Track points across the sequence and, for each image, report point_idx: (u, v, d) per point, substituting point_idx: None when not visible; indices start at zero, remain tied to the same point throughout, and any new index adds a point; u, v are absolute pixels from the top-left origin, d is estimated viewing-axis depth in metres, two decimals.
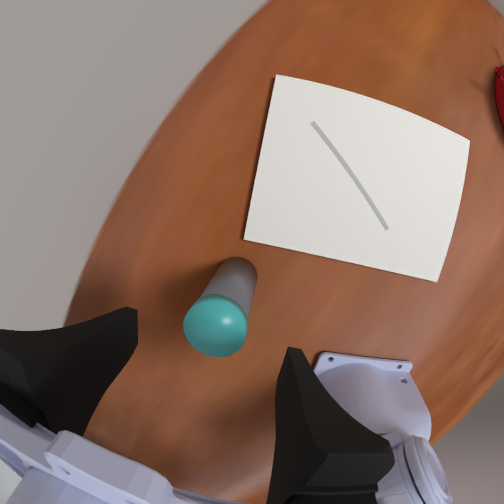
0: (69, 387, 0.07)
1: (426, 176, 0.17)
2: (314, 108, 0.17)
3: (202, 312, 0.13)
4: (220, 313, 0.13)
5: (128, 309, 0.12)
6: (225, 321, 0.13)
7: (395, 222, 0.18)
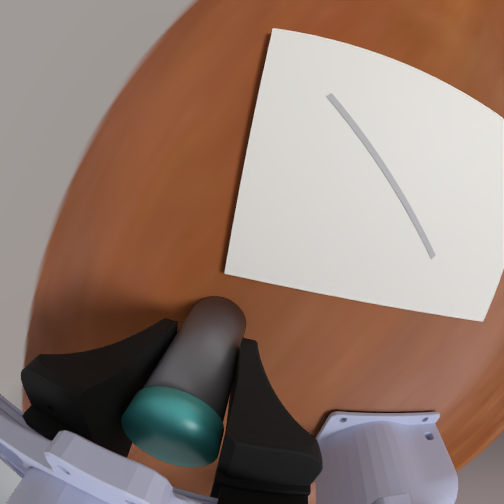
0: (119, 411, 0.07)
1: (482, 181, 0.11)
2: (331, 75, 0.10)
3: (145, 418, 0.07)
4: (173, 424, 0.07)
5: (168, 322, 0.12)
6: (183, 434, 0.07)
7: (443, 246, 0.12)
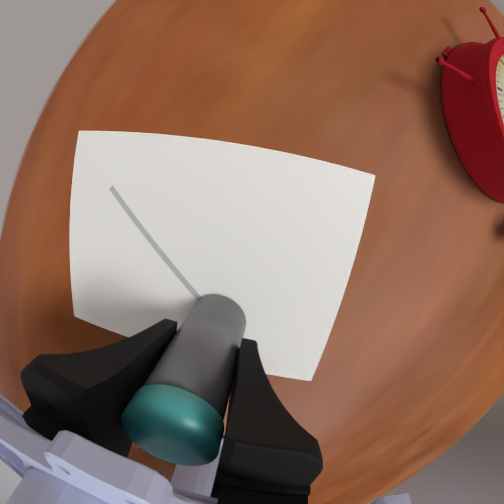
0: (119, 411, 0.07)
1: (278, 246, 0.13)
2: (113, 168, 0.13)
3: (145, 416, 0.07)
4: (173, 422, 0.07)
5: (168, 322, 0.12)
6: (183, 432, 0.07)
7: None
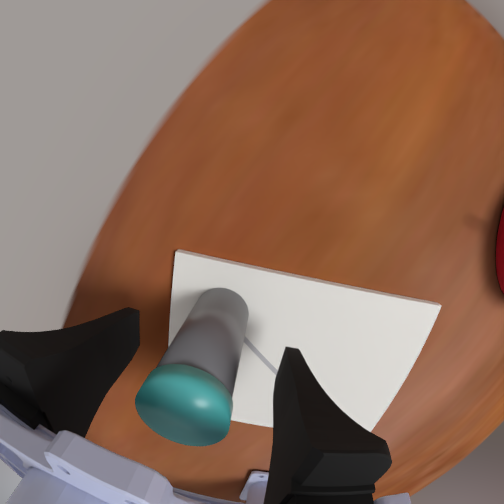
0: (71, 388, 0.07)
1: (366, 359, 0.16)
2: None
3: (160, 394, 0.08)
4: (187, 398, 0.07)
5: (130, 310, 0.12)
6: (196, 408, 0.08)
7: None
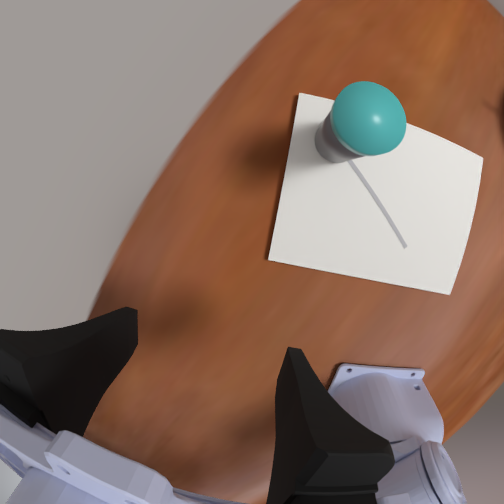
0: (69, 387, 0.07)
1: (442, 195, 0.17)
2: None
3: (358, 91, 0.09)
4: (378, 94, 0.09)
5: (128, 309, 0.12)
6: (384, 104, 0.09)
7: (413, 240, 0.19)
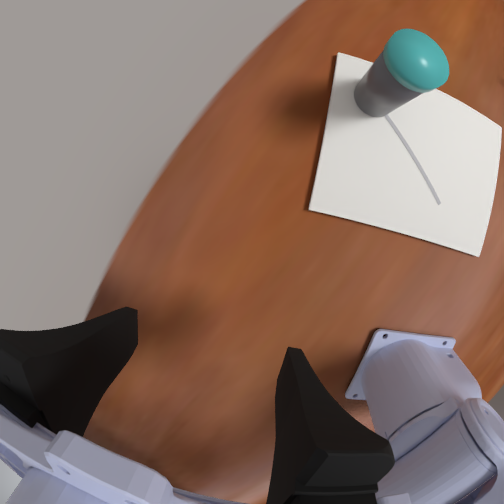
0: (69, 387, 0.07)
1: (469, 156, 0.16)
2: None
3: (408, 36, 0.08)
4: (424, 40, 0.08)
5: (128, 309, 0.12)
6: (430, 48, 0.08)
7: (446, 197, 0.17)
